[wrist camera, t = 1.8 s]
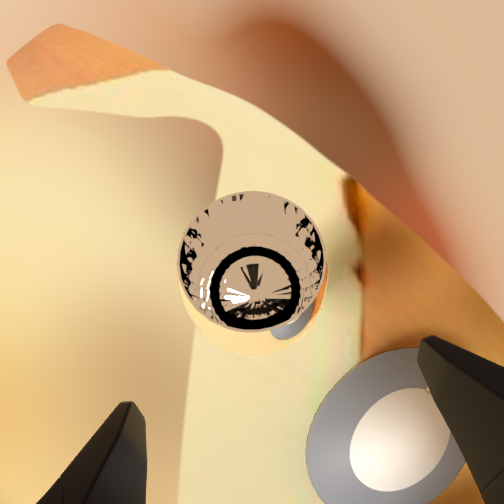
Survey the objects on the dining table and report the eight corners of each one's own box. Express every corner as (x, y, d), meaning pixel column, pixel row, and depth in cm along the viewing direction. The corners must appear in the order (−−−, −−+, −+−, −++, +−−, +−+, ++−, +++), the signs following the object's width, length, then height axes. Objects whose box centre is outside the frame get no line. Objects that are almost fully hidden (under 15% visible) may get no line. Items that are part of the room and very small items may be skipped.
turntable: (412, 531, 13) (416, 535, 12) (267, 481, 16) (267, 486, 15) (493, 386, 17) (500, 386, 16) (368, 316, 20) (372, 314, 19)
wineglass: (310, 287, 21) (357, 201, 10) (287, 368, 20) (318, 374, 8) (230, 265, 22) (197, 163, 11) (204, 344, 20) (134, 316, 9)
